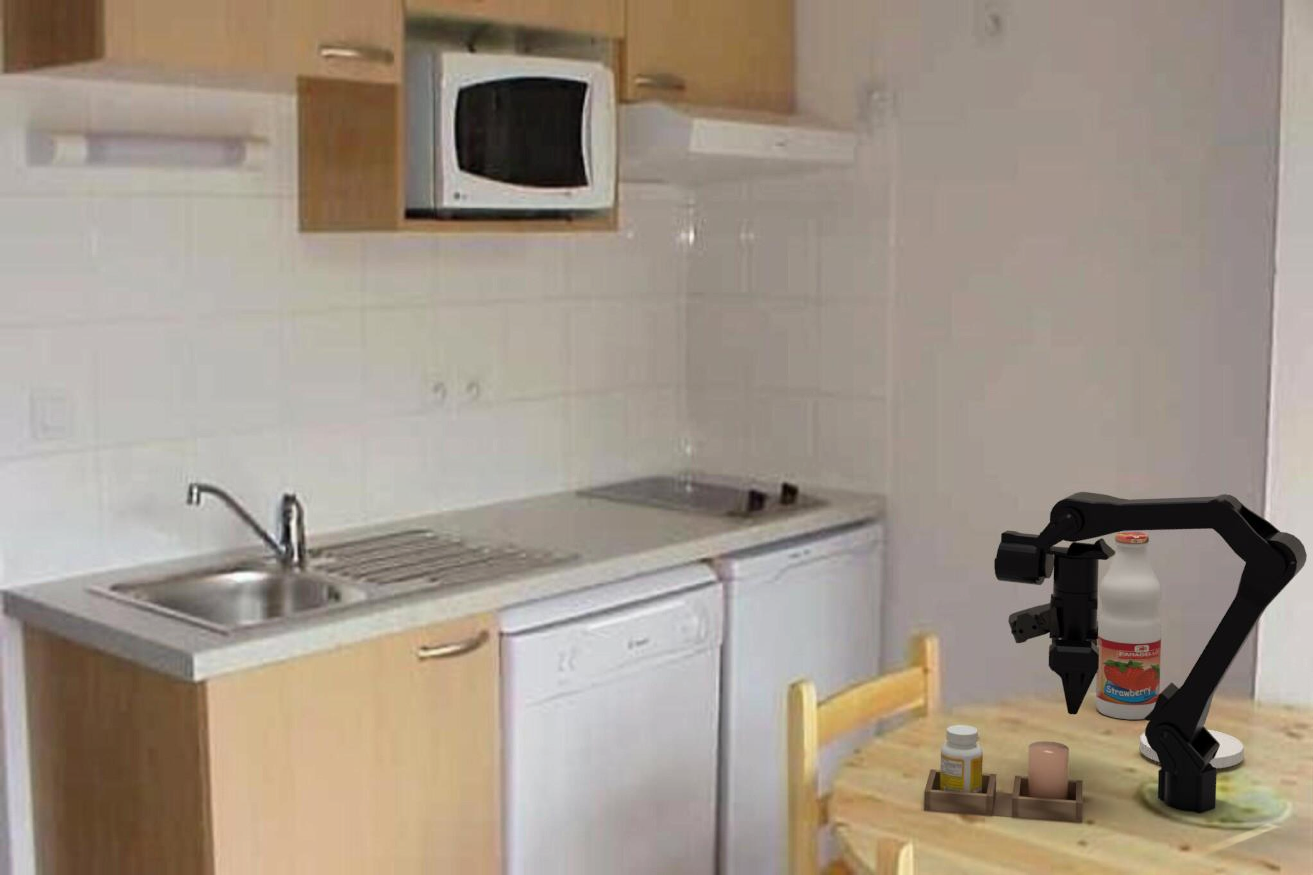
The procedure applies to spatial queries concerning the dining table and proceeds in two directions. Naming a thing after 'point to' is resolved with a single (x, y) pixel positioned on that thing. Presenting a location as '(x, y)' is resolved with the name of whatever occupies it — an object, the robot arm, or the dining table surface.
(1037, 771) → the pink cylinder
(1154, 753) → the plastic lid
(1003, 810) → the rack
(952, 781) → the supplement bottle
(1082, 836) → the dining table surface
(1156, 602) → the fruit juice
